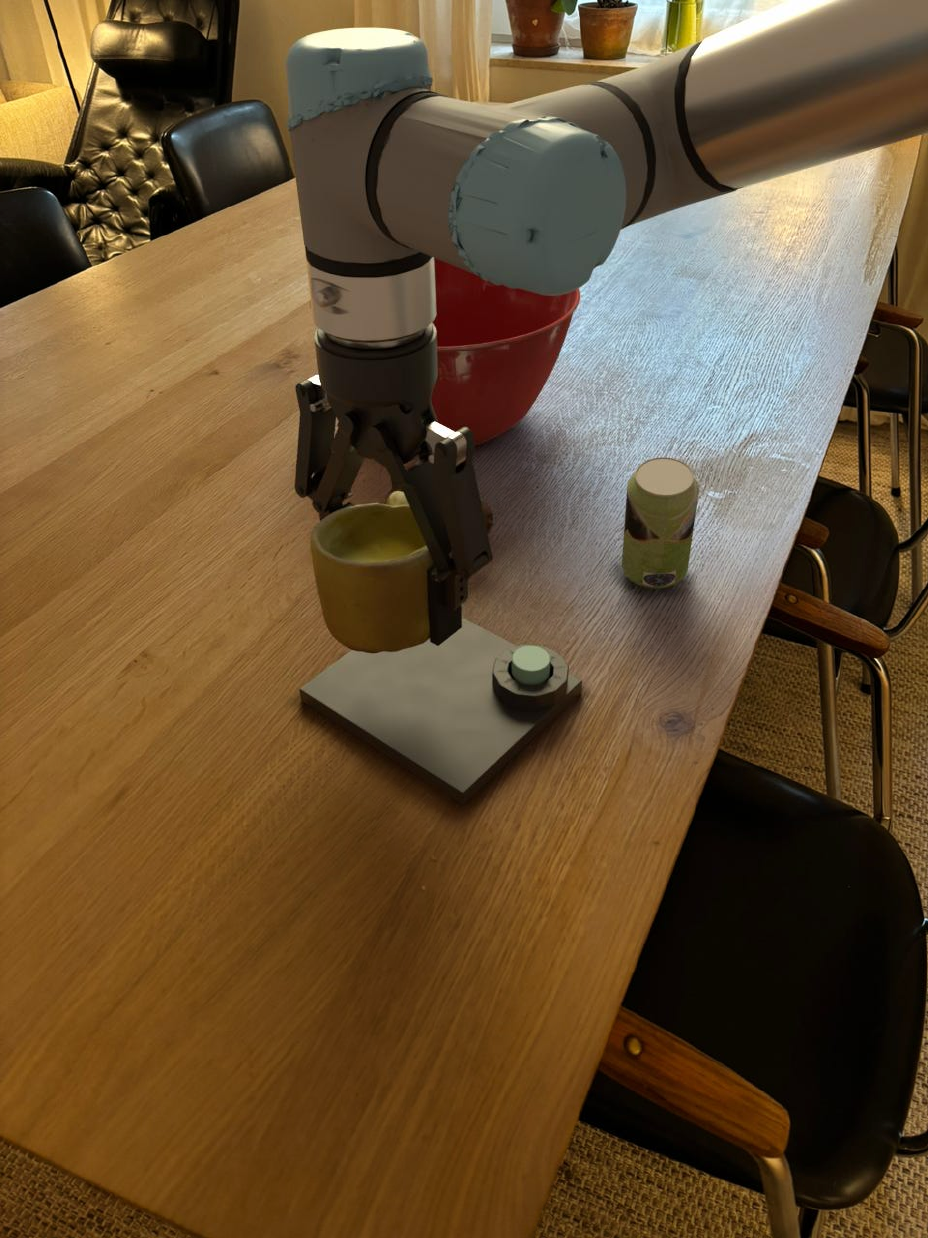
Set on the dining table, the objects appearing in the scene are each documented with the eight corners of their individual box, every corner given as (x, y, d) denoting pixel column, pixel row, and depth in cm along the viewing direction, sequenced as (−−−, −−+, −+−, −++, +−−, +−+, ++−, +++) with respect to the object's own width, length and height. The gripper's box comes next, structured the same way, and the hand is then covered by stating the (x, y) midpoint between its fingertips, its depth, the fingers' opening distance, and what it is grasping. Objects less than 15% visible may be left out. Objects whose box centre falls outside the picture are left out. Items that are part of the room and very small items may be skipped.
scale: (581, 692, 80) (583, 665, 78) (463, 806, 71) (462, 778, 70) (424, 608, 89) (422, 582, 87) (300, 701, 80) (296, 673, 78)
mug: (425, 673, 67) (390, 534, 63) (305, 669, 72) (266, 540, 68) (501, 599, 77) (475, 475, 73) (390, 600, 82) (361, 484, 78)
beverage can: (686, 558, 94) (705, 447, 86) (685, 607, 88) (704, 493, 81) (620, 551, 95) (632, 441, 87) (614, 599, 89) (627, 486, 82)
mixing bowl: (309, 381, 123) (293, 256, 113) (529, 353, 128) (533, 231, 118) (346, 503, 102) (331, 363, 92) (607, 464, 107) (620, 327, 97)
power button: (557, 670, 78) (558, 656, 77) (534, 691, 77) (535, 676, 76) (526, 654, 80) (527, 640, 79) (503, 674, 78) (504, 660, 77)
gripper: (209, 298, 64) (259, 574, 78) (476, 401, 53) (477, 699, 67) (295, 263, 68) (327, 531, 83) (558, 352, 57) (542, 642, 72)
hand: (395, 606), depth 75 cm, fingers closed on mug, 9 cm apart
